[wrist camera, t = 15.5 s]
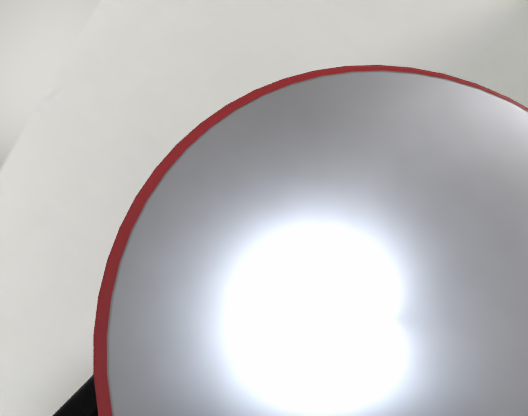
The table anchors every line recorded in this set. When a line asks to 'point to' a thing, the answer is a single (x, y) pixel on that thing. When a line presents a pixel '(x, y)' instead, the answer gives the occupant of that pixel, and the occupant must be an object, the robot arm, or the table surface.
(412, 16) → the table surface
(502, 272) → the can
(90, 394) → the robot arm
